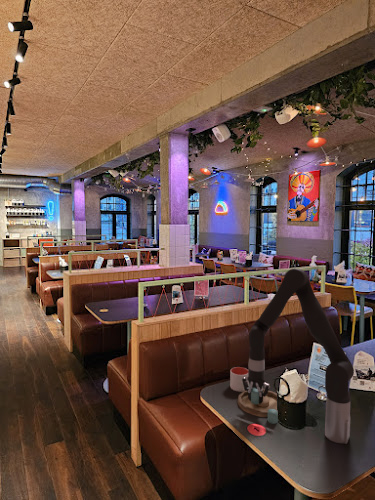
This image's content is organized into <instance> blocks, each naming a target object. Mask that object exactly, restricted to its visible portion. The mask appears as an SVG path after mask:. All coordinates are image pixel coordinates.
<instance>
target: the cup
mask: <svg viewBox="0 0 375 500" xmlns="http://www.w3.org/2000/svg"><path fill="white" fill-rule="evenodd" d="M244 377H248V369H247V368H246V367H242V366H241V367H240V366H237V367H235V366H234V367H232V368H231V369H230V377H229V378H230V379H229V380H230V381H229V382H230V383H229V385H230V390H233V391H234V392H235V391H236V392H239V393H240V392H241V393H242V392H243V391H245V389H244V385H243V381H242V379H243V378H244ZM249 385H250V383H249V382H248V386H249Z"/></svg>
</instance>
